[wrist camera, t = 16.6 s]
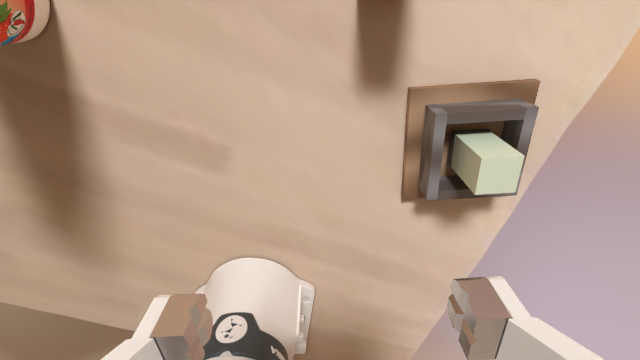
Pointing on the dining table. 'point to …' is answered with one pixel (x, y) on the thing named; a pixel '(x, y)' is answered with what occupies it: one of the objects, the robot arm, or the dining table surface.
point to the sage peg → (484, 161)
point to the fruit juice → (22, 19)
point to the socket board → (461, 113)
